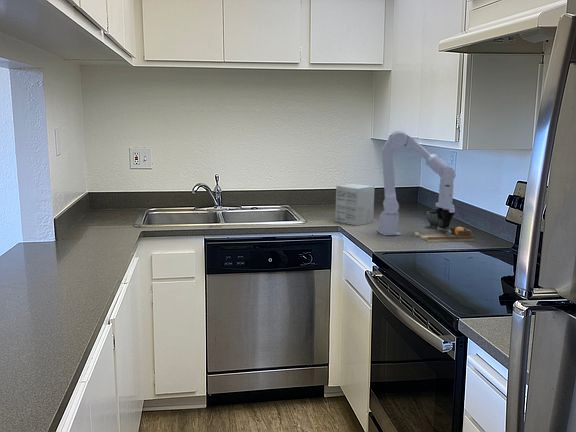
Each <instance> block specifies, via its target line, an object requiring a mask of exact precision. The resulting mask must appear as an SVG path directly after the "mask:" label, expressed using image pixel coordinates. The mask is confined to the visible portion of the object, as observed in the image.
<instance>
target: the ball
mask: <svg viewBox="0 0 576 432" xmlns="http://www.w3.org/2000/svg"><path fill="white" fill-rule="evenodd" d="M462 227H463V226H457V228H455V231H454V232H455V234H456V235H457V236H458V231H464V229H463V228H462Z"/></svg>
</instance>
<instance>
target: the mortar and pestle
mask: <svg viewBox="0 0 576 432" xmlns="http://www.w3.org/2000/svg"><path fill="white" fill-rule="evenodd" d="M426 219H427V223H429V228H430V229H432V230H438V229H437V227H439V221H438V216H437V213H436V211H435V210H432V211H431V210H430V211H426Z"/></svg>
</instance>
